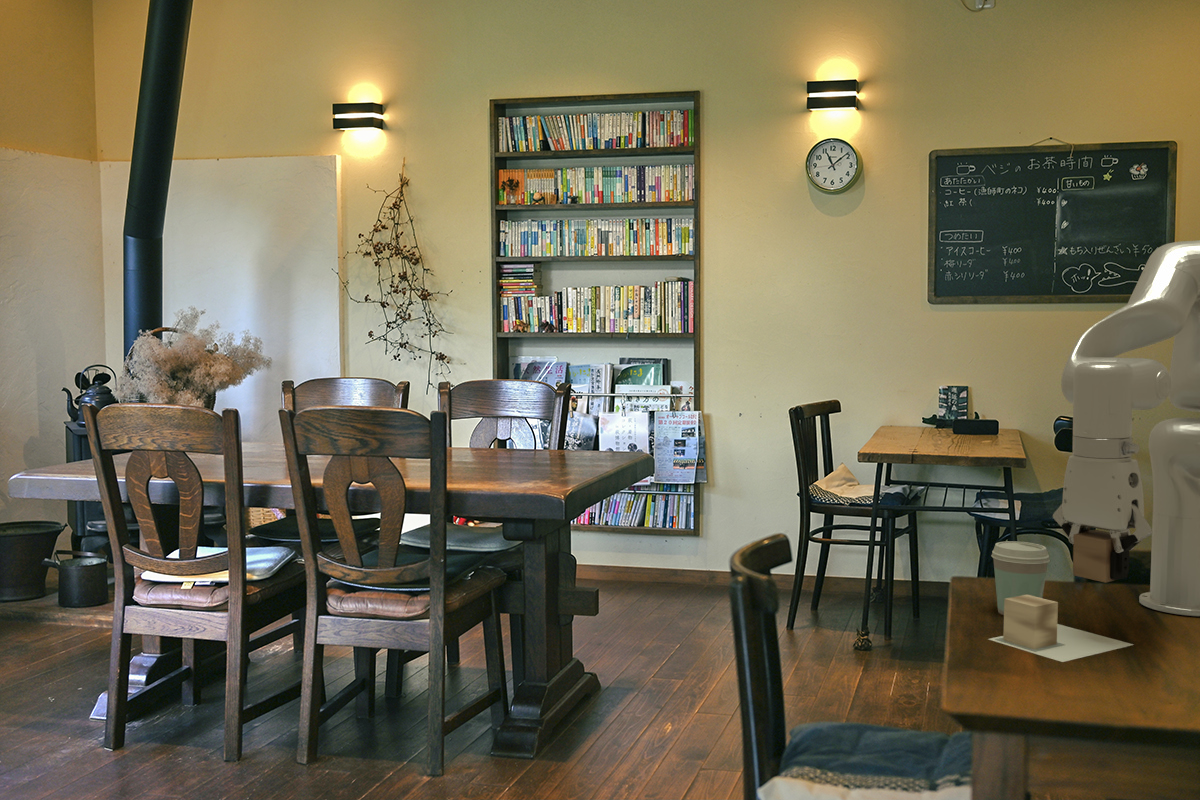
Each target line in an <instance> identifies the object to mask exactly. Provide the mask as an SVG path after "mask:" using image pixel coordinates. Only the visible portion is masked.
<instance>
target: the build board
mask: <svg viewBox="0 0 1200 800" xmlns="http://www.w3.org/2000/svg"><path fill="white" fill-rule="evenodd" d="M988 640H989V641H993V642H996V643H999V644H1003V645H1005V646H1009V647H1013V648H1016V649H1018V650H1021V651H1025V652H1028V653H1031V654H1035V655H1038V656H1041V657H1044V658H1047V659H1052V660H1055V661H1057V662H1061V663H1064V662H1069V661H1073V660H1077V659H1078V660H1079V659H1080V658H1085V657H1089V656H1094V655H1098V654H1102V653H1106V652H1110V651H1115V650H1117V649H1118V650H1119V649H1123V648H1128V647H1130V646H1134V644H1133V643H1130V642H1125V641H1122V640H1119V639H1115V638H1111V637H1107V636H1103V635H1099V634H1096V633H1093V632H1089V631H1086V630H1082V629H1077V628H1075V627H1071V626H1066V625H1063V624H1059V623H1057V644H1055V645H1050V646H1046V647H1041V648H1037V649H1031V648H1028V647H1025V646H1021V645H1018V644H1015V643H1012V642H1008V641H1005V640H1003V635H1000V636H997V637H991V638H988Z"/></svg>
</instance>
